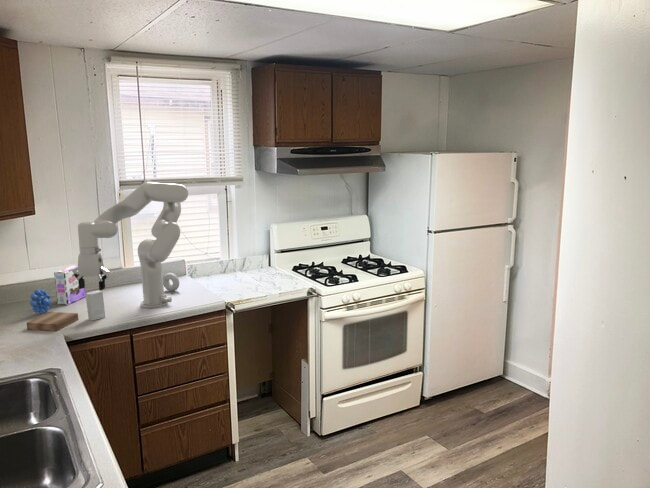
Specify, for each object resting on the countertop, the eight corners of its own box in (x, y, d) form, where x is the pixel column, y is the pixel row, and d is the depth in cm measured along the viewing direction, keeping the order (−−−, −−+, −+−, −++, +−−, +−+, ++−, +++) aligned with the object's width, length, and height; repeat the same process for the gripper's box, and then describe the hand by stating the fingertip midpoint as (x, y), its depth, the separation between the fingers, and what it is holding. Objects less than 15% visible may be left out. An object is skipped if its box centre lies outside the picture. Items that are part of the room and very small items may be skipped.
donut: (161, 291, 272) (160, 272, 270) (166, 289, 275) (164, 271, 273) (177, 293, 268) (175, 274, 266) (181, 291, 271) (180, 272, 269)
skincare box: (101, 315, 235) (98, 289, 233) (106, 317, 233) (103, 291, 230) (87, 319, 231) (84, 292, 228) (92, 321, 228) (89, 294, 226)
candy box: (67, 305, 250) (64, 272, 247) (57, 304, 252) (53, 271, 248) (86, 297, 264) (82, 265, 260) (76, 296, 265) (72, 265, 262)
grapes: (40, 318, 232) (37, 292, 230) (27, 317, 234) (24, 291, 231) (59, 310, 243) (56, 285, 241) (47, 309, 245) (44, 284, 242)
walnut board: (78, 319, 230) (77, 313, 229) (57, 331, 216) (56, 324, 216) (50, 318, 232) (49, 311, 232) (27, 329, 219) (26, 322, 218)
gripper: (112, 249, 228) (115, 287, 231) (76, 248, 230) (79, 285, 234) (102, 253, 220) (105, 292, 223) (65, 251, 223) (68, 290, 226)
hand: (92, 288), depth 228 cm, fingers open, 9 cm apart
